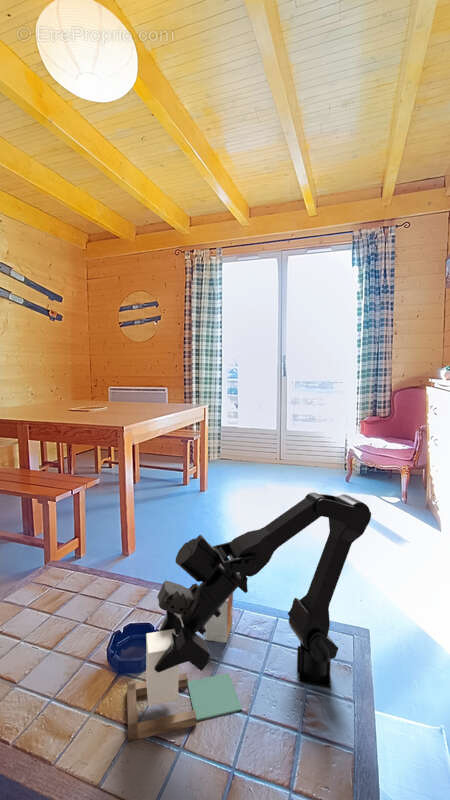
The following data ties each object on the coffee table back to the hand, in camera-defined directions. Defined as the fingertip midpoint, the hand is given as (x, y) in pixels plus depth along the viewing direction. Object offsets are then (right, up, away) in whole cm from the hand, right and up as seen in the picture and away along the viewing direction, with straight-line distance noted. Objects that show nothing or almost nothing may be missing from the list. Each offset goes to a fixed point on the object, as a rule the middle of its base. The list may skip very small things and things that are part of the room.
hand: (154, 659), depth 70 cm
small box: (+12, -9, +23) cm, 28 cm away
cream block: (+1, -7, +1) cm, 7 cm away
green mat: (+11, -10, +4) cm, 15 cm away
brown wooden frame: (+1, -10, +1) cm, 10 cm away
